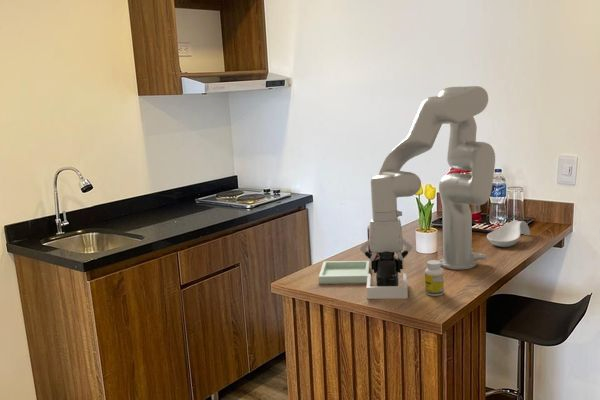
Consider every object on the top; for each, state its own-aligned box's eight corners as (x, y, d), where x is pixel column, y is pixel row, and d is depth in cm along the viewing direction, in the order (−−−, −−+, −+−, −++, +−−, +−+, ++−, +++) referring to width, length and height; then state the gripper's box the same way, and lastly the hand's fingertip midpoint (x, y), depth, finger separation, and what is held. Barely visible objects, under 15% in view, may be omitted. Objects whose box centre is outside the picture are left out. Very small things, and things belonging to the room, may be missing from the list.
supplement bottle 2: (423, 290, 176) (422, 260, 175) (440, 289, 177) (439, 258, 175) (428, 297, 171) (427, 265, 169) (446, 295, 172) (445, 263, 170)
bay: (406, 283, 183) (405, 273, 183) (407, 298, 171) (407, 287, 170) (368, 284, 185) (367, 273, 184) (366, 298, 173) (366, 287, 172)
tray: (369, 267, 202) (369, 260, 201) (368, 283, 186) (367, 275, 186) (324, 268, 204) (323, 261, 204) (319, 283, 189) (318, 276, 188)
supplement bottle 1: (398, 290, 176) (397, 252, 174) (376, 290, 178) (374, 252, 175) (399, 282, 183) (397, 246, 180) (377, 282, 184) (375, 246, 182)
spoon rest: (510, 251, 210) (511, 232, 208) (481, 246, 218) (481, 228, 217) (538, 237, 226) (538, 219, 225) (509, 233, 234) (509, 215, 233)
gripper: (413, 211, 178) (415, 267, 182) (356, 213, 181) (359, 268, 184) (414, 217, 171) (416, 275, 174) (355, 219, 173) (358, 276, 177)
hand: (387, 271), depth 179 cm, fingers closed on supplement bottle 1, 6 cm apart
